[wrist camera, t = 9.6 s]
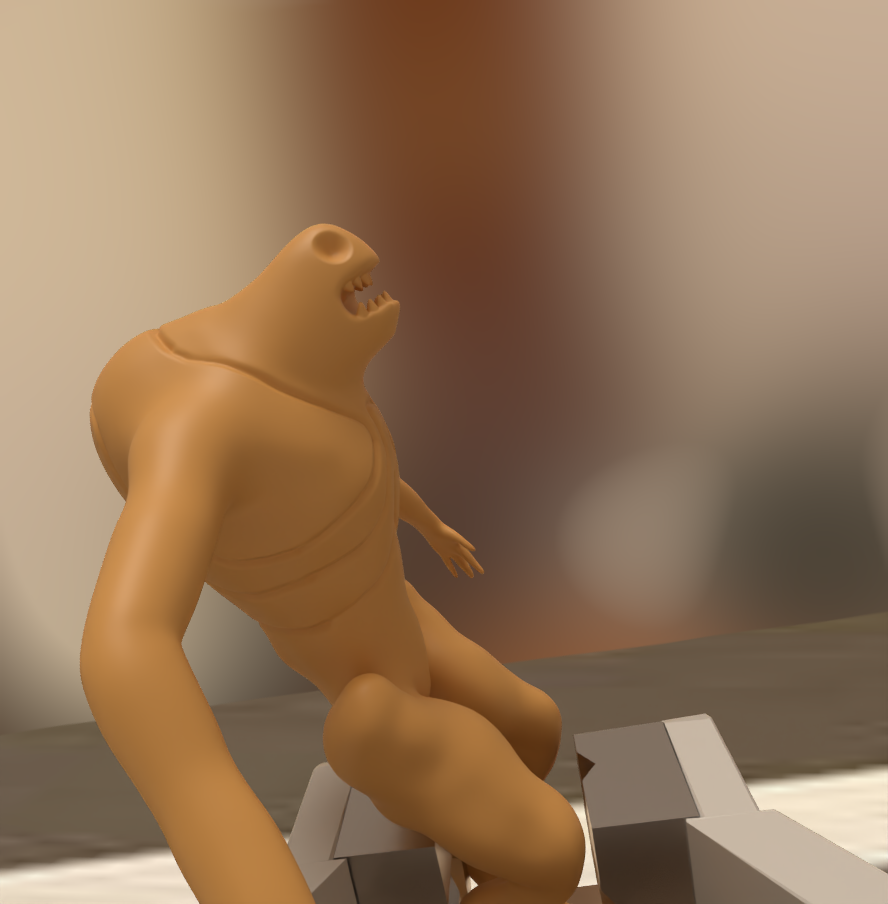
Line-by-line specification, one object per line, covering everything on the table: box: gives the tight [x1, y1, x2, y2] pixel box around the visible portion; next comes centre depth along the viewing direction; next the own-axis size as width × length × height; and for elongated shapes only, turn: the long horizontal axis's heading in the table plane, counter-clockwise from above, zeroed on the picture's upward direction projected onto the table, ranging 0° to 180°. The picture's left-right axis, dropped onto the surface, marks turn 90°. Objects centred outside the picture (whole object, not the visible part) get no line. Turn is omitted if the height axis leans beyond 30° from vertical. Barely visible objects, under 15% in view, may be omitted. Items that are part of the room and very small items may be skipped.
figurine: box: [80, 224, 585, 904], centre depth 8 cm, size 8×6×12 cm
